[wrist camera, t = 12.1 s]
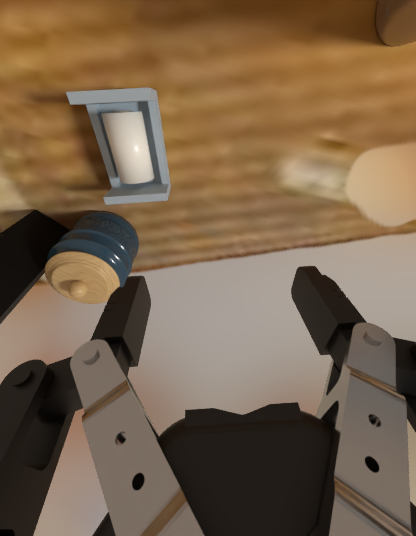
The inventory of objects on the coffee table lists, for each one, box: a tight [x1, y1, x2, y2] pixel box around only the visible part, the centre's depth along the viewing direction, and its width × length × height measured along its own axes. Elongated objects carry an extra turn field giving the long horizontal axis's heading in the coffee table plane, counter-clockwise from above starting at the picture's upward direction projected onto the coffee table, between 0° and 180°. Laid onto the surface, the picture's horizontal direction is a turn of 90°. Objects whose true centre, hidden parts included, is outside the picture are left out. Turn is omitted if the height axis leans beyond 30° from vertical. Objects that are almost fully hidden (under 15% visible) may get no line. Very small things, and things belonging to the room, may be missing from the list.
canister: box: [45, 211, 139, 304], centre depth 39 cm, size 13×13×18 cm
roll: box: [101, 110, 154, 184], centre depth 33 cm, size 9×6×6 cm
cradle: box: [66, 88, 171, 205], centre depth 33 cm, size 10×14×8 cm
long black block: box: [0, 210, 70, 324], centre depth 33 cm, size 8×8×28 cm
